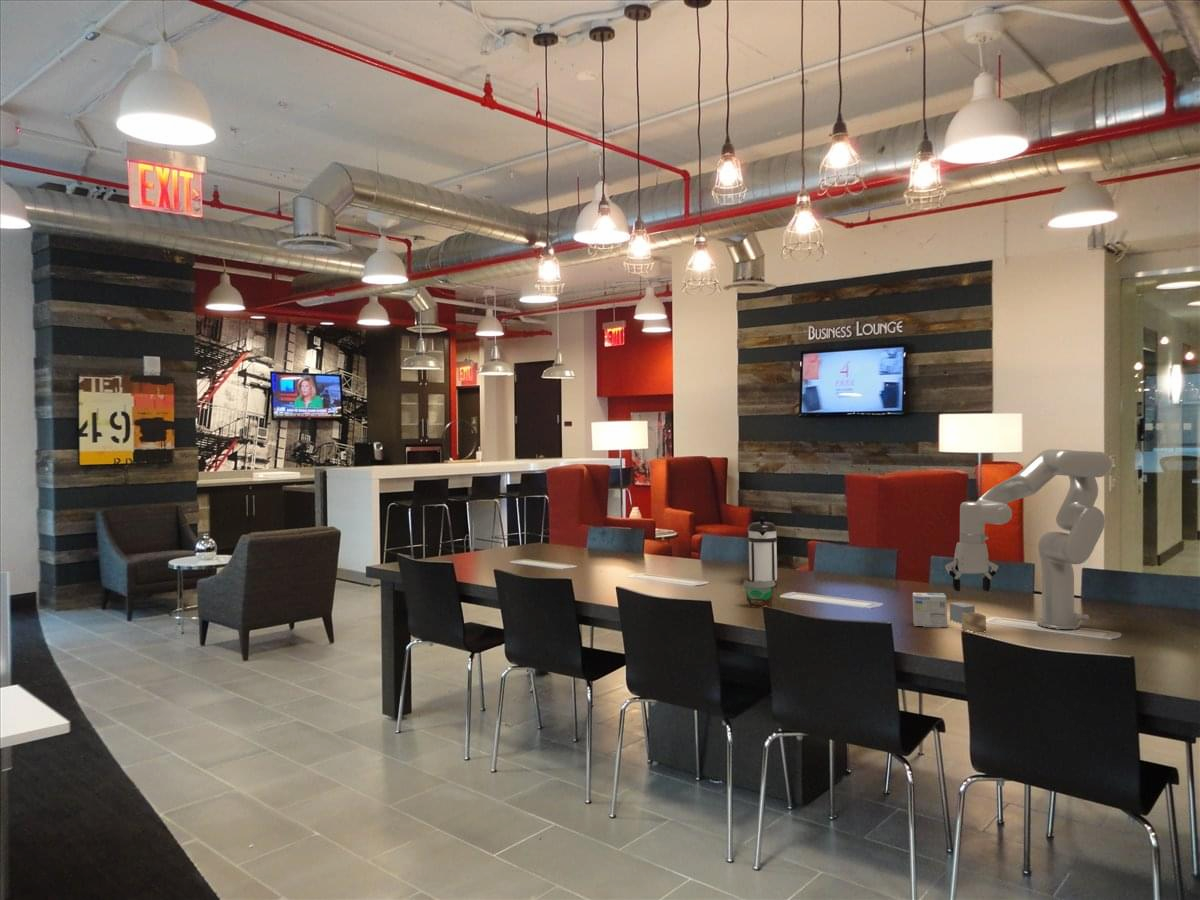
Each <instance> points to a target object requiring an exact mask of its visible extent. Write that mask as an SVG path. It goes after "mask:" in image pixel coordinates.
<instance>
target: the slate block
mask: <svg viewBox="0 0 1200 900" xmlns="http://www.w3.org/2000/svg"><path fill="white" fill-rule="evenodd" d="M975 610H976V609H975V605H972V604H968V603H965V602H959V601H958V602H951V603H949V620H950V621H951V620H953V621H952V622H955V621H956V623H958V622H959V624H961V623H962V613H976V612H975Z"/></svg>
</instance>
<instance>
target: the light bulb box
mask: <svg viewBox="0 0 1200 900" xmlns="http://www.w3.org/2000/svg"><path fill="white" fill-rule="evenodd" d="M947 603H948V602H947V596H946V594H945V593H944V592H940V593H939V592H912V615H913V616H912V618H913V619H912V620H913V622H912V623H913V626H914V627H915V626H923V627H922V628H941V627H947V628H948V608H947V607H948V605H947Z"/></svg>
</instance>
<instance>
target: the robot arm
mask: <svg viewBox="0 0 1200 900" xmlns="http://www.w3.org/2000/svg"><path fill="white" fill-rule="evenodd" d="M1112 466H1113V463H1112V459H1111V457H1110V456H1109V455H1108V454H1107V453H1105V452H1103V451H1089V450H1071V449H1057V448H1056V449H1054V448H1053V449H1052V448H1051V449H1049V448H1048V449H1045V450H1043V451H1041V452H1039V454H1037V455H1036V456H1035V457H1033V459H1032V460H1030V461H1029V463H1027V464H1026V465H1025V466H1024V467H1023V468H1022V469H1021V470H1020V471H1019V472H1017V473H1016V474H1014V475H1013V476H1011V477H1010V478H1007V479H1006V480H1004V481H1002V482H999V483H998V484H996V485H994V486H993V487H991V488H990V489H988V490H987V491H986V492H985V493H984V494H982V496H980V497H979V498H978V499H977V500H976V501H963V502H960V503H961V504H960V506H959V542H957V543H956V545H955V549H954V550H955V551H954V558H953V561H951V562H948V563H947V564H945V565H944V567H945V569H946V571H947V574H948V575H950V577H951V578H952V588H953V590H954V591H957V592H960V591H961V579H960V578H961V576H962V575H963V574H964V575H967V574H968V575H969V574H970V575H971V574H972V575H973V574H974V575H976V574H977V575H978V574H979V575H980V574H981V575H983V578H982V590H983V591H984V592H990V588H991V580H992V579H993V577H994V576H995V575H996V572H997V570H998V569H999V565H997V564H995V563H994V562H992V561H990V560H989V551H988V546H987V543H985V542H986V540H989V536H988V535H986V534H985V529H986V527H985V525H986V524H989V525H1004V524H1006V523H1008V522H1010V521H1011V519H1012V516H1013V511H1012V509H1011V507H1010V506H1009V505H1008V504H1009V503H1011V502H1013V501H1016V500H1020V499H1024V498H1028V497H1031V496H1033V495H1035V494H1036V493H1037V492H1039V491H1040V490H1041V489H1042V488H1043V487H1044V486H1045V485H1046V484H1047V483H1049V482H1050V481H1051V480H1053V478H1054V477H1056V476H1064V477H1065V476H1067V477H1068V478H1069V482H1070V484H1069V490H1068V492H1067V493H1066V496H1065V498H1064V500H1063V502H1062V504H1061V505H1060V508H1059V509H1058V512H1057V515H1056V518H1055V523H1056V525H1057V526H1058V527H1059V528H1060V529H1062V530H1064V531H1068V532H1069V533H1067V532H1062V531H1061V532H1060V531H1049V532H1046V533H1044V534H1043V535H1042V536H1041V537H1040V538H1039V540H1038V545H1037V546H1038V554H1039V559H1040V565H1041V566H1040V567H1041V611H1042V612H1041V613H1042V614H1041V617H1042V618H1040V619H1038V620H1037V621H1036V624H1037V626H1039V625H1040V627H1042V626H1043V627H1042V628H1045V627H1048V628H1047V629H1050V628H1058V629H1057V630H1059V629H1073V630H1076V629H1075V628H1078V629H1079V627H1080V628H1081V626H1080V625H1081V624H1080V623H1079V622H1080V621H1083V622H1084V621H1089V620H1090V616H1089V614H1080V613H1077V612H1075V572H1074V568H1073V565H1081V564H1084V563H1085V562H1086V561H1087V560H1088V559H1089V558H1090V557H1091V555H1092V553H1093V551H1094V549H1095V547H1096V545H1097V543H1098V541H1099V540H1100V538H1101V534H1102V533H1103V530H1104V528H1105V523H1106V519H1105V516H1104V513H1103V511H1102V510H1101V509H1100V508H1098V507H1096V506H1095V503H1096V500H1097V498H1098V496H1099V485H1098V482H1097V479H1096V478H1103V477H1105V476H1107V475H1108V474H1109V473H1110V472H1111V470H1112V468H1113V467H1112ZM990 567H991V569H990ZM989 569H990V570H989Z"/></svg>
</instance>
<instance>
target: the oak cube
mask: <svg viewBox="0 0 1200 900" xmlns="http://www.w3.org/2000/svg"><path fill="white" fill-rule="evenodd" d="M961 630H963V631H965V630H969V631H973V632H984V631H986V632H987V617H986V615H984V614H983V613H980V612H975V613H962V624H961ZM984 633H985V632H984Z"/></svg>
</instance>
